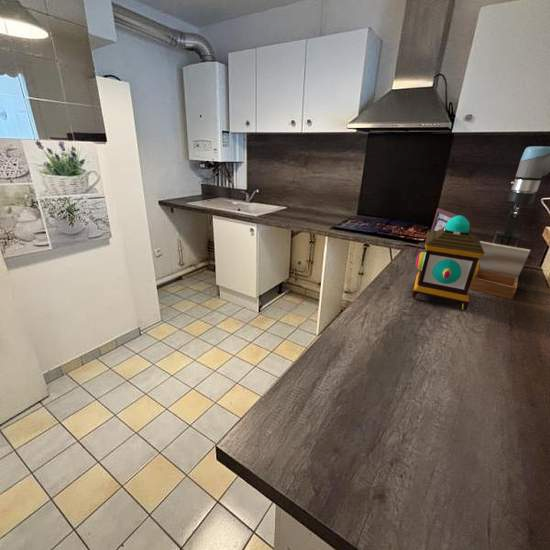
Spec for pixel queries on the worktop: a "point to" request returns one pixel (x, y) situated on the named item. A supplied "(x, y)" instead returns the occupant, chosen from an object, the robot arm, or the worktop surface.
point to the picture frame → (441, 219)
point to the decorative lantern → (449, 262)
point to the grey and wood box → (503, 256)
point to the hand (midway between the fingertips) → (501, 251)
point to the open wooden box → (495, 284)
